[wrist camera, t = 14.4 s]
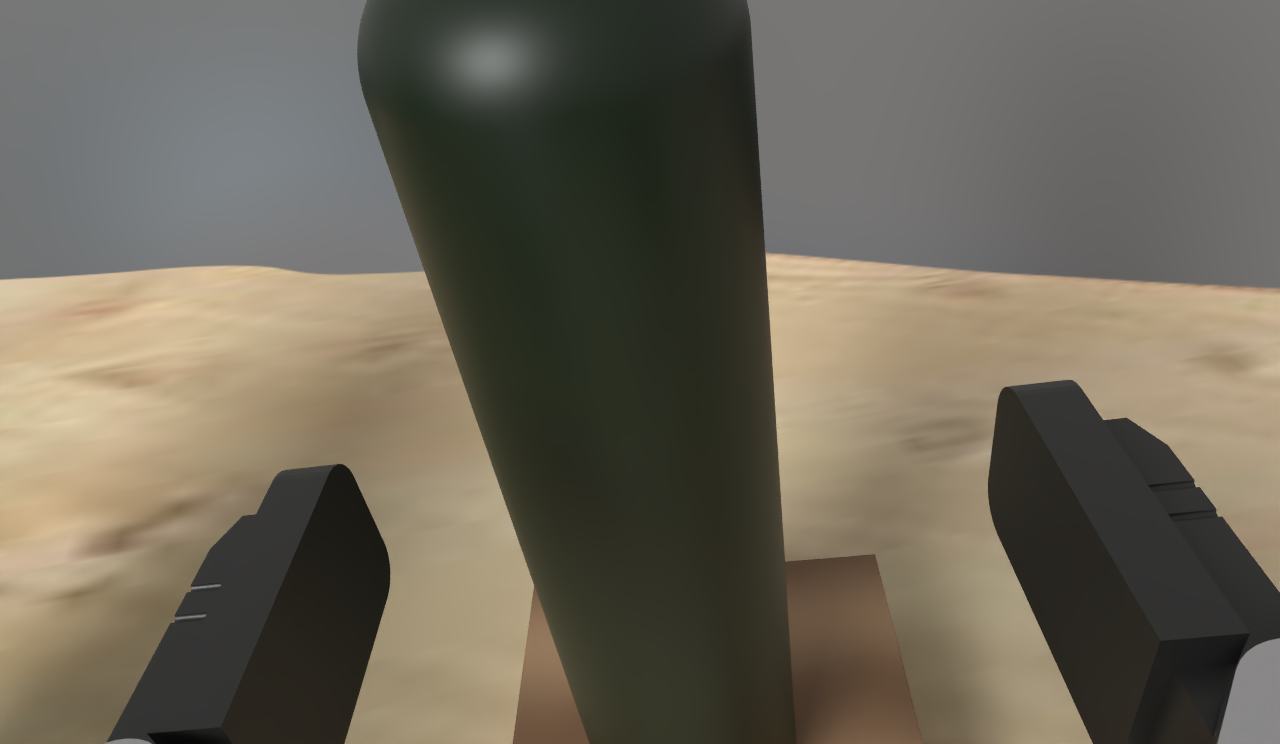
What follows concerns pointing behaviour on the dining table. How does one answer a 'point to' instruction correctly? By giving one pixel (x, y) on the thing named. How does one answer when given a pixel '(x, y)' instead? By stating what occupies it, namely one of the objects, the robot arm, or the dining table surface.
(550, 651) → the walnut block
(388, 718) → the dining table surface
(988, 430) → the dining table surface
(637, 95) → the wine bottle
